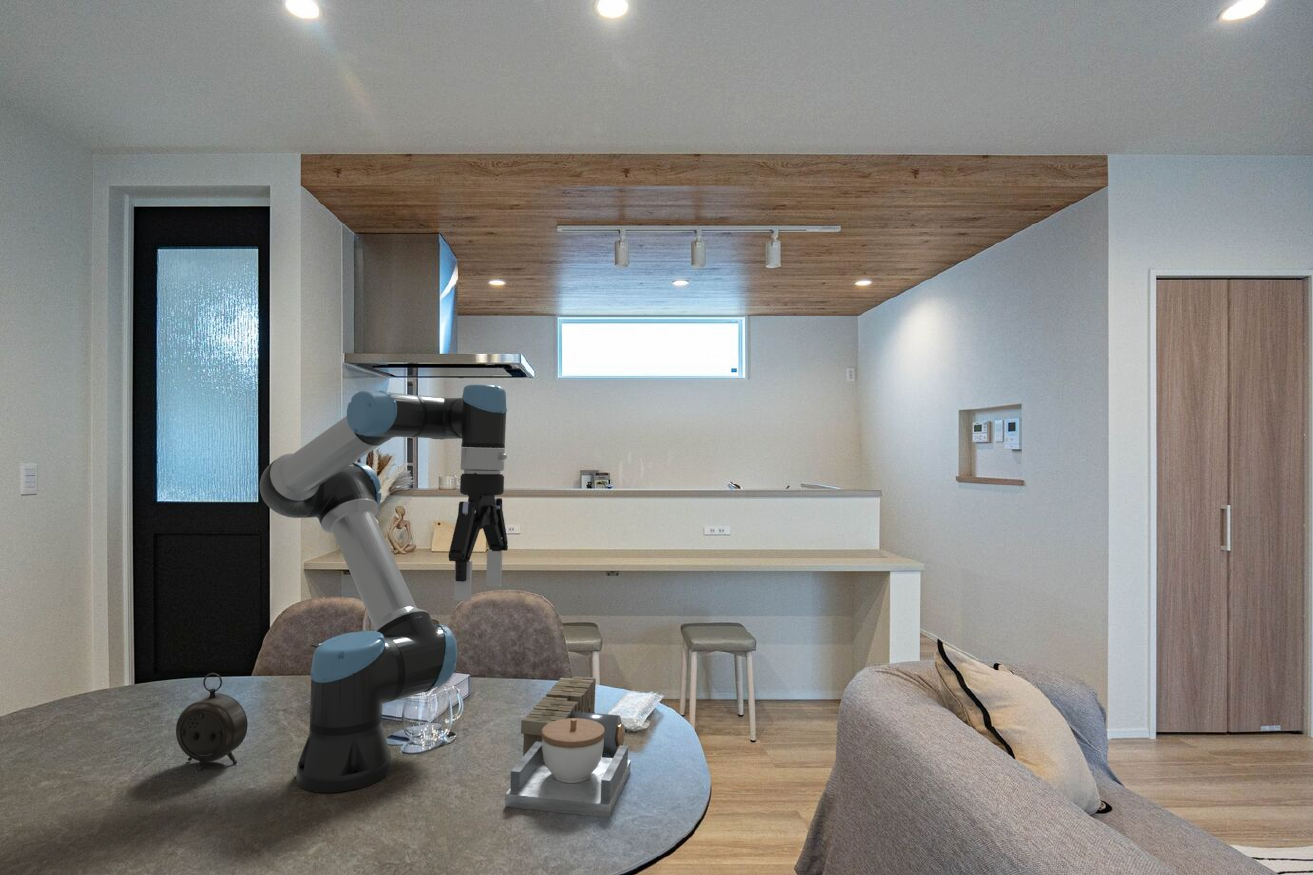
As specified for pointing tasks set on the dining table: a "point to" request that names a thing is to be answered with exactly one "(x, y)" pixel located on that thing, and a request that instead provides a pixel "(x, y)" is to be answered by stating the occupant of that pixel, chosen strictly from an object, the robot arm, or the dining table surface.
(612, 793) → the motor cradle
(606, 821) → the dining table surface
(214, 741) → the alarm clock
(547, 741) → the lidded jar
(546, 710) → the block tower
